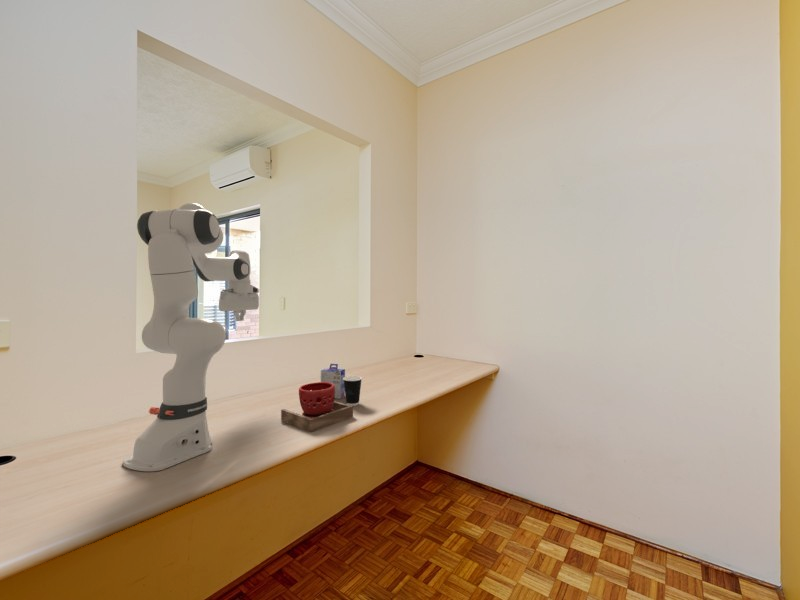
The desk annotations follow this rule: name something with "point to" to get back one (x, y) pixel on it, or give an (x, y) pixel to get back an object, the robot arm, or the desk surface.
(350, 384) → the dixie cup
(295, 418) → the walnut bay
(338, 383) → the ink cartridge box
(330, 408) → the plant pot
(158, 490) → the desk surface
